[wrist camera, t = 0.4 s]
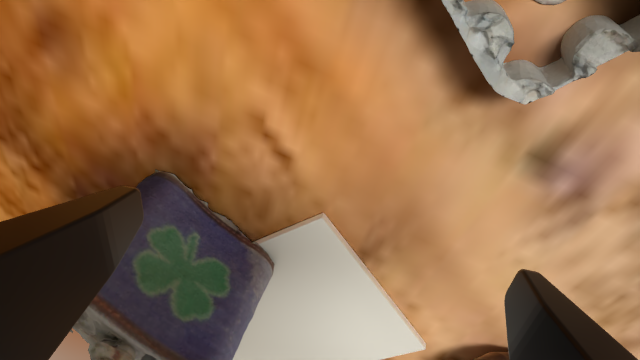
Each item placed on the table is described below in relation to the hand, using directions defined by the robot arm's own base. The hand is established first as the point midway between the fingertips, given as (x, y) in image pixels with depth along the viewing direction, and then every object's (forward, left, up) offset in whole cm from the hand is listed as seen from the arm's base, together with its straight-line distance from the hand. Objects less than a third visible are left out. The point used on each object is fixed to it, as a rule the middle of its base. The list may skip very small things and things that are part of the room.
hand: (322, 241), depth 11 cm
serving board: (+13, -17, -13) cm, 25 cm away
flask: (+5, -15, -13) cm, 20 cm away
